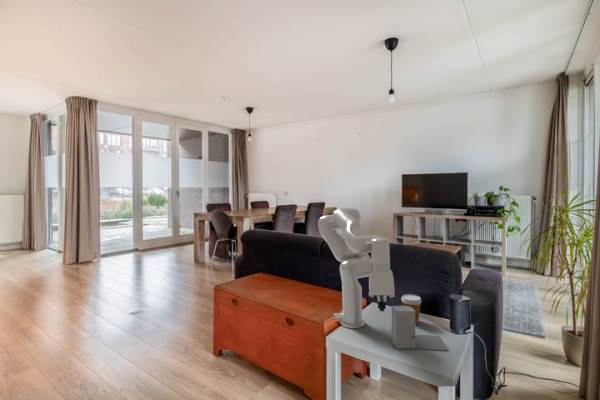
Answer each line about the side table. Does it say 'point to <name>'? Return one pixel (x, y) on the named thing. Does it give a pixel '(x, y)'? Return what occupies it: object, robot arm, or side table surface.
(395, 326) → the skincare box
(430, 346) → the mat
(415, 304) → the disposable coffee cup
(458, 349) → the side table surface
